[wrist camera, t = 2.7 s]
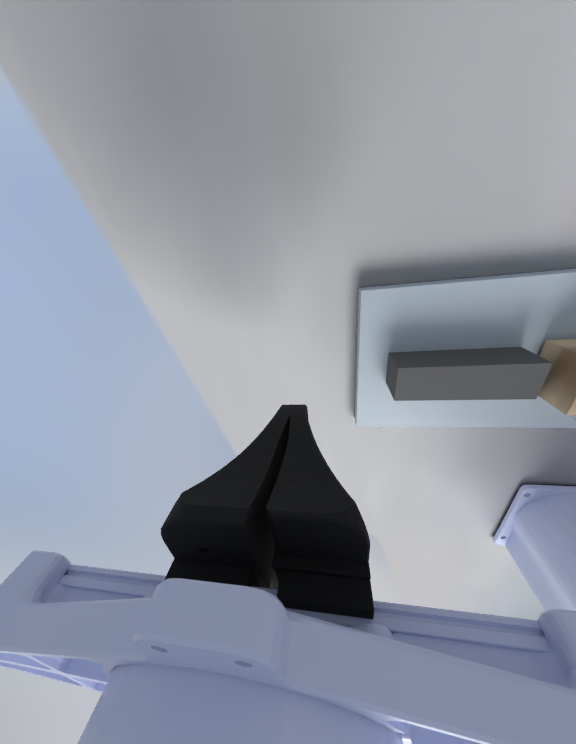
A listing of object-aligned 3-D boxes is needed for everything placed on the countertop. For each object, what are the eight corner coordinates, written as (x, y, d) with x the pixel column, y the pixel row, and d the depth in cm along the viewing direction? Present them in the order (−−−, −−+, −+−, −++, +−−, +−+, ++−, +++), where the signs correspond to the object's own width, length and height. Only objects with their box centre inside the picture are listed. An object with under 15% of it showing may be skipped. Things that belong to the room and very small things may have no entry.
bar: (508, 379, 16) (536, 399, 14) (385, 382, 17) (394, 400, 15) (520, 346, 15) (552, 363, 13) (388, 352, 16) (398, 368, 14)
